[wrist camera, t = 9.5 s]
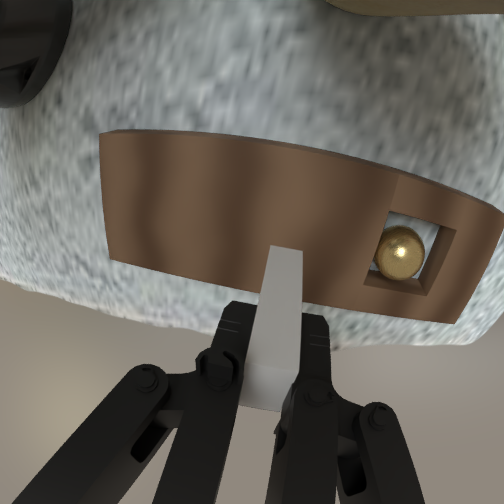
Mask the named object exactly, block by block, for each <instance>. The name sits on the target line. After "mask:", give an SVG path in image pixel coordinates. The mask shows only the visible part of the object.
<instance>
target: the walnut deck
mask: <svg viewBox="0 0 504 504" xmlns="http://www.w3.org/2000/svg"><path fill="white" fill-rule="evenodd" d="M99 152H100V176H101V191H102V203H103V213H104V221H105V229H106V237H107V244H108V250H109V256H110V259H112V260H116V261H119V262H123V263H127V264H131V265H135V266H139V267H143V268H147V269H151V270H155V271H159V272H164V273H168V274H172V275H176V276H181V277H185V278H189V279H194V280H198V281H203V282H207V283H212V284H216V285H221V286H226V287H230V288H235V289H240V290H245V291H250V292H255V293H261V288H262V283H263V279H264V274H265V269H266V264H267V260H268V255H269V250H270V245H273V246H278V247H284V248H289V249H295V250H300V251H303V275H302V302H307V303H313V304H318V305H324V306H330V307H336V308H342V309H348V310H354V311H360V312H367V313H373V314H380V315H387V316H394V317H401V318H408V319H415V320H423V321H431V322H439V323H448V324H455V323H456V321H457V319H458V318H459V316H460V315H461V313H462V311H463V310H464V308H465V306H466V305H467V303H468V301H469V300H470V298H471V296H472V294H473V293H474V291H475V289H476V287H477V285H478V283H479V281H480V279H481V278H482V276H483V274H484V272H485V270H486V268H487V265H488V263H489V261H490V259H491V257H492V255H493V253H494V250H495V248H496V246H497V243H498V241H499V238H500V236H501V234H502V231H503V228H504V213H502V212H501V211H500V210H498V209H497V208H496V207H494V206H493V205H491V204H489V203H487V202H484V201H482V200H480V199H478V198H475V197H473V196H471V195H468V194H466V193H463V192H461V191H458V190H456V189H453V188H451V187H448V186H446V185H443V184H440V183H438V182H435V181H432V180H429V179H426V178H423V177H421V176H418V175H415V174H412V173H408V172H405V171H402V170H399V169H396V168H392V167H389V166H386V165H382V164H379V163H375V162H371V161H368V160H364V159H360V158H356V157H352V156H348V155H344V154H340V153H335V152H331V151H326V150H322V149H317V148H312V147H307V146H302V145H296V144H291V143H285V142H279V141H273V140H266V139H259V138H252V137H244V136H236V135H227V134H217V133H206V132H193V131H175V130H138V129H130V130H114V131H110V132H106V133H101V134H99ZM389 210H390V211H393V212H397V213H401V214H404V215H408V216H412V217H415V218H419V219H422V220H426V221H429V222H432V223H436V224H439V225H440V228H439V231H438V233H437V236H436V238H435V241H434V244H433V246H432V248H431V251H430V253H429V256H428V258H427V260H426V262H425V265H424V267H423V269H422V271H421V274H420V276H419V278H418V279H415V278H409V279H406V280H400V281H398V280H392V279H390V278H387V277H386V276H384V275H383V274H382V273H381V272H380V271H375V270H370V269H369V268H370V265H371V263H372V260H373V257H374V254H375V252H376V249H377V246H378V243H379V240H380V237H381V235H382V232H383V229H384V226H385V222H386V219H387V216H388V213H389Z"/></svg>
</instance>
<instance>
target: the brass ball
mask: <svg viewBox="0 0 504 504" xmlns="http://www.w3.org/2000/svg"><path fill="white" fill-rule="evenodd" d="M424 257H425V249H424V244H423V242H422V240H421V238H420V236H419V235H418V234H417V233H416V232H415V231H414V230H413V229H411V228H409V227H407V226H402V225H396V226H391V227H389V228H387V229H385V230H384V231H383V232H382V235H381V237H380V240H379V243H378V246H377V249H376V252H375V254H374V261H375V264H376V266H377V268H378V269H379V271H380V272H381V273H382V274H383V275H384V276H386V277H387V278H390V279H392V280H398V281H400V280H406V279H409V278H411V277H412V276H414V275H415V274H416V273H417V272H418V271H419V270H420V268H421V266H422V264H423V261H424Z"/></svg>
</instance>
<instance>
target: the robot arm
mask: <svg viewBox="0 0 504 504" xmlns="http://www.w3.org/2000/svg"><path fill="white" fill-rule="evenodd" d="M71 12H72V2H71V0H0V108H10V107H15V106H20V105H23V104H25V103H27V102H29V101H30V100H31V99H32V98H33V97H35V95H36V94H37V93H38V92H39V91H40V90H41V88H42V87H43V86H44V84H45V83H46V81H47V80H48V78H49V76H50V74H51V73H52V71H53V69H54V67H55V65H56V63H57V61H58V58H59V56H60V54H61V51H62V49H63V46H64V43H65V40H66V37H67V33H68V30H69V25H70V20H71ZM302 275H303V251H300V250H295V249H289V248H284V247H278V246H273V245H270V250H269V255H268V260H267V264H266V269H265V274H264V279H263V283H262V288H261V293H260V297H259V302H258V305H253V304H248V303H243V302H238V301H232V302H230V303H229V304H228V305H227V306H226V307H225V308H224V310H223V313H222V316H221V319H220V321H219V324H218V328H217V330H216V333H215V336H214V338H213V341H212V344H211V347H210V348H207V349H205V350H204V351H202V352H200V353H199V355H198V357H197V358H196V359H195V361H196V370H195V371H193V372H190V373H183V374H166V373H165V372H164V371H163V370H162V369H161V368H160V367H157V366H155V365H152V364H142V365H139V366H136V367H134V368H133V369H131V370H130V371H129V372H128V373H127V374H126V375H125V376H124V378H122V379H121V381H120V382H119V383H118V384H117V385H116V386H115V387H114V388H113V389H112V391H111V392H110V393H109V394H108V395H107V396H106V397H105V398H104V399H103V401H102V402H101V403H100V404H99V405H98V406H97V407H96V408H95V409H94V410H93V412H92V413H91V414H90V415H89V416H88V417H87V418H86V419H85V421H84V422H83V423H82V424H81V425H80V426H79V427H78V428H77V429H76V431H75V432H74V433H73V434H72V435H71V436H70V437H69V438H68V440H67V441H66V442H65V443H64V444H63V445H62V446H61V447H60V449H59V450H58V451H57V452H56V453H55V454H54V456H53V457H52V458H51V459H50V460H49V461H48V462H47V463H46V465H45V466H44V467H43V468H42V469H41V470H40V471H39V472H38V474H37V475H36V476H35V477H34V478H33V479H32V481H31V482H30V483H29V484H28V485H27V486H26V488H25V489H24V490H23V491H22V492H21V493H20V494H19V496H18V497H17V498H16V499H15V500H14V501H13V503H12V504H118V503H119V501H120V500H121V499H122V497H123V496H124V495H125V493H126V492H127V491H128V490H129V488H130V487H131V486H132V484H133V483H134V482H135V480H136V479H137V478H138V476H139V475H140V474H141V472H142V471H143V470H144V468H145V467H146V466H147V464H148V463H149V462H150V460H151V459H152V458H153V456H154V455H155V454H156V452H157V451H158V449H159V448H160V447H161V445H162V444H163V443H164V441H165V440H166V438H167V437H168V435H169V434H170V433H171V431H172V430H173V429H174V428H178V429H177V432H176V435H175V438H174V441H173V444H172V447H171V450H170V452H169V455H168V458H167V461H166V464H165V467H164V470H163V473H162V476H161V479H160V481H159V484H158V488H157V491H156V493H155V496H154V499H153V502H152V504H215V502H216V498H217V494H218V490H219V486H220V482H221V478H222V473H223V470H224V465H225V461H226V457H227V453H228V449H229V444H230V440H231V436H232V431H233V427H234V423H235V418H236V413H237V408H238V405H241V406H247V407H252V408H258V409H263V410H269V411H276V412H280V410H281V408H282V412H281V419H280V421H279V423H278V425H277V426H276V428H275V430H274V434H276V439H275V446H274V453H273V459H272V465H271V472H270V477H269V483H268V489H267V495H266V500H265V504H335V497H336V486H337V491H338V496H339V500H340V504H425V502H424V498H423V494H422V491H421V487H420V484H419V481H418V477H417V474H416V471H415V468H414V465H413V462H412V459H411V456H410V453H409V450H408V447H407V444H406V441H405V438H404V435H403V433H402V430H401V427H400V424H399V422H398V419H397V416H396V414H395V413H394V411H393V409H392V408H390V407H389V406H388V405H386V404H384V403H381V402H372V403H370V404H367V405H366V406H365V407H363V406H360V405H358V404H355V403H352V402H350V401H347V400H345V399H343V398H342V397H341V396H339V395H338V393H337V392H336V391H335V390H334V388H333V385H332V381H331V356H330V339H329V337H330V336H329V325H328V324H327V322H326V320H325V318H324V317H323V316H321V315H314V314H308V313H302Z"/></svg>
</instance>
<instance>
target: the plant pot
mask: <svg viewBox="0 0 504 504" xmlns="http://www.w3.org/2000/svg"><path fill="white" fill-rule="evenodd" d="M325 1H327V2H328V3H330V4H332V5H334V6H335V7H338V8H340V9H342V10H345V11H348V12H351V13H355V14H360V15H368V16H432V15H460V14H504V0H325Z"/></svg>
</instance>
